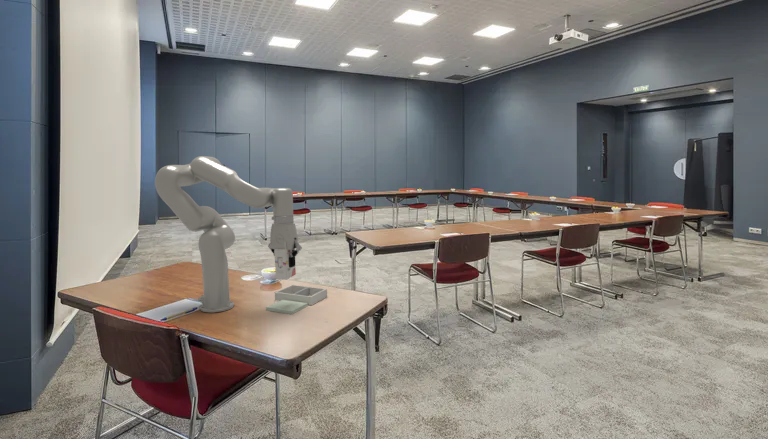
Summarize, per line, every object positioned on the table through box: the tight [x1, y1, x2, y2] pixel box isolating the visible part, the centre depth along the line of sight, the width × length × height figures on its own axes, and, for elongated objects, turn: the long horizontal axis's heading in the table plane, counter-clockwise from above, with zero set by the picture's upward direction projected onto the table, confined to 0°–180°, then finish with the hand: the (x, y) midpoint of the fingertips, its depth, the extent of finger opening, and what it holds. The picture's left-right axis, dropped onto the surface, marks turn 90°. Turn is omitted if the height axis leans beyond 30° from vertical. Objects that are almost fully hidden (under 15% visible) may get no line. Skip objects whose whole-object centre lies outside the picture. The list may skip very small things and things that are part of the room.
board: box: [265, 300, 308, 315], centre depth 171 cm, size 12×10×1 cm
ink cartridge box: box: [273, 242, 297, 280], centre depth 168 cm, size 9×5×15 cm, turn 168°
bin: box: [274, 284, 328, 306], centre depth 183 cm, size 18×13×4 cm
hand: (285, 265), depth 168 cm, fingers closed on ink cartridge box, 5 cm apart
